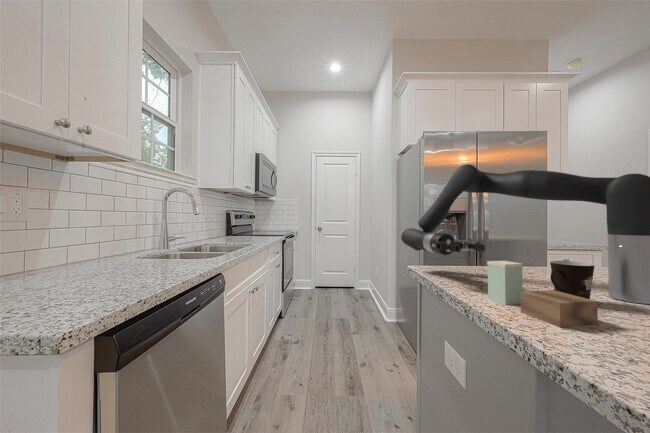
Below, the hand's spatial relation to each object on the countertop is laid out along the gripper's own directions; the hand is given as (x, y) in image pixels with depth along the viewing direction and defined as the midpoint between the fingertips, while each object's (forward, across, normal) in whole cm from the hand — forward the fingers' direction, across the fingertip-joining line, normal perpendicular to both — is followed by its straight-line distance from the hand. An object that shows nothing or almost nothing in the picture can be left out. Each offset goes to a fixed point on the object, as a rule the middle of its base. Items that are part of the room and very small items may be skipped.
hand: (471, 248), depth 83 cm
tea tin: (+12, 0, +13) cm, 17 cm away
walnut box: (+25, 0, +13) cm, 28 cm away
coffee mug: (+16, +15, +13) cm, 25 cm away
